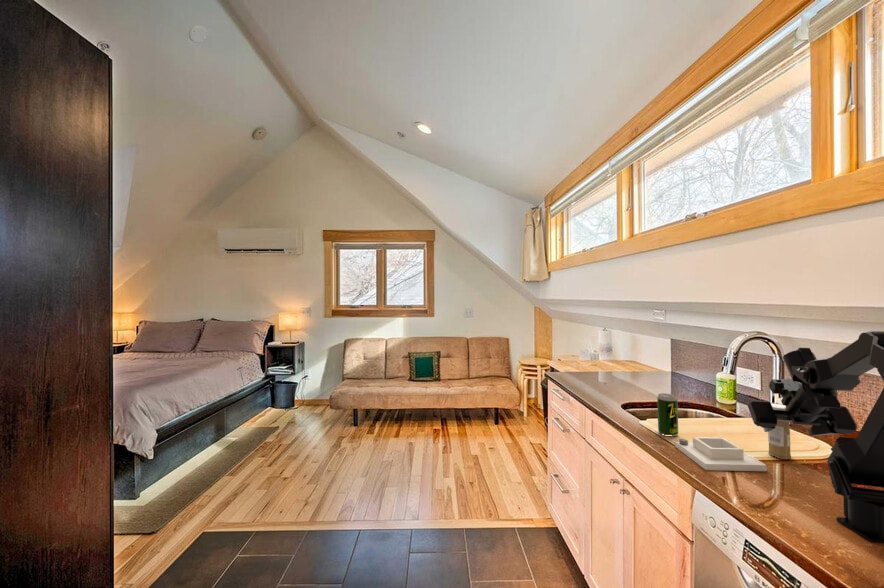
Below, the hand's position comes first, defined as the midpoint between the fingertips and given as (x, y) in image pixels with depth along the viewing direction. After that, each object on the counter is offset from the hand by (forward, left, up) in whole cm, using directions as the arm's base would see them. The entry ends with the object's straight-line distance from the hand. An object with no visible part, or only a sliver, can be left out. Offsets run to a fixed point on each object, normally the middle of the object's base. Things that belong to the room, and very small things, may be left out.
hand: (787, 432), depth 94 cm
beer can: (+19, +20, -8) cm, 29 cm away
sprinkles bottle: (+4, -1, -8) cm, 9 cm away
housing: (+2, +16, -8) cm, 18 cm away
